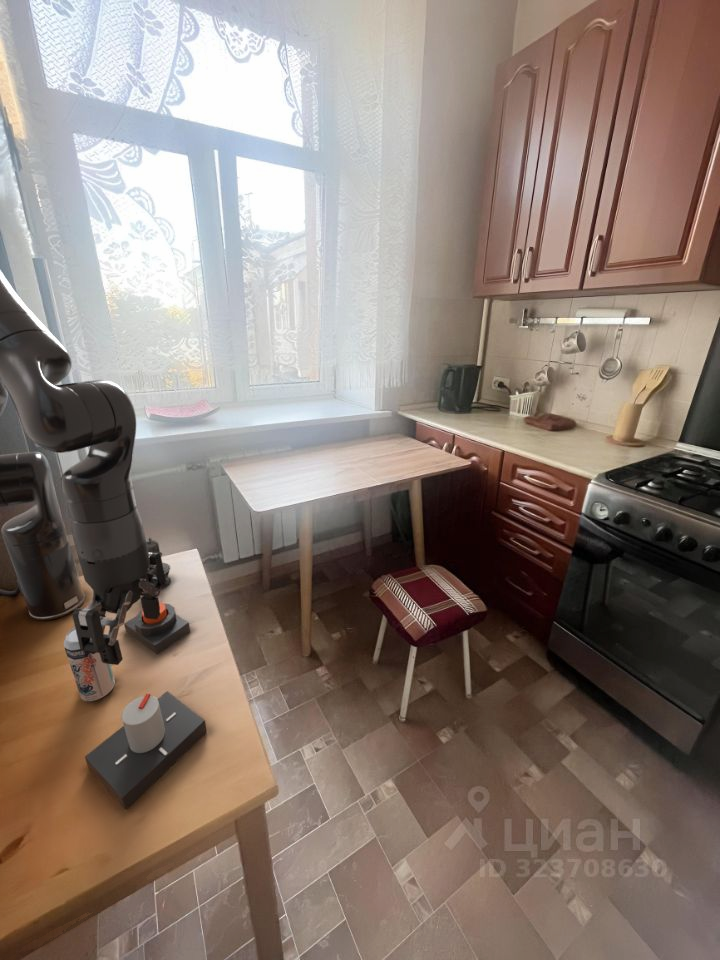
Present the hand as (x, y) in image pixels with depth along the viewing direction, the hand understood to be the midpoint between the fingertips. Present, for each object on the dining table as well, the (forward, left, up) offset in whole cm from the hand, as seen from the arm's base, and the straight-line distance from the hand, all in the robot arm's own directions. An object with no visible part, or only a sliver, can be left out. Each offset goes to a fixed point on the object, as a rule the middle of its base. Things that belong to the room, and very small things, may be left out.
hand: (134, 638), depth 56 cm
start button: (-14, +10, -10) cm, 20 cm away
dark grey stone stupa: (-28, +19, -14) cm, 36 cm away
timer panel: (+6, -4, -14) cm, 16 cm away
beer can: (-10, -3, -14) cm, 17 cm away
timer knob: (+6, -4, -11) cm, 13 cm away
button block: (-14, +10, -14) cm, 22 cm away
